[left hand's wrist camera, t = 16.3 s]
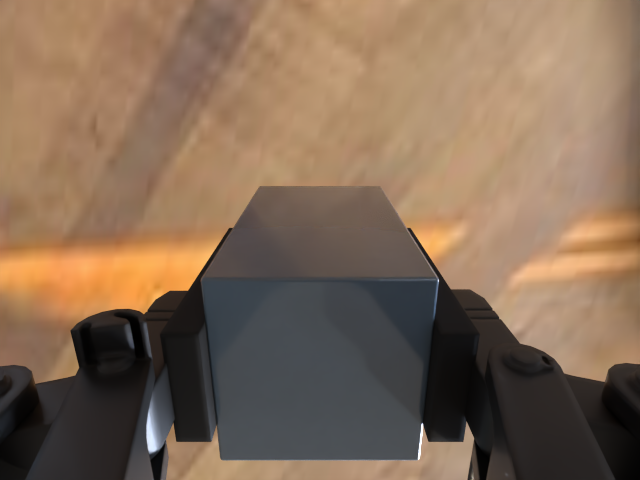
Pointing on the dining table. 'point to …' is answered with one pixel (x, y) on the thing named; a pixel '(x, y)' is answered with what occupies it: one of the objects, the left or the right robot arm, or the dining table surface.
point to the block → (319, 328)
